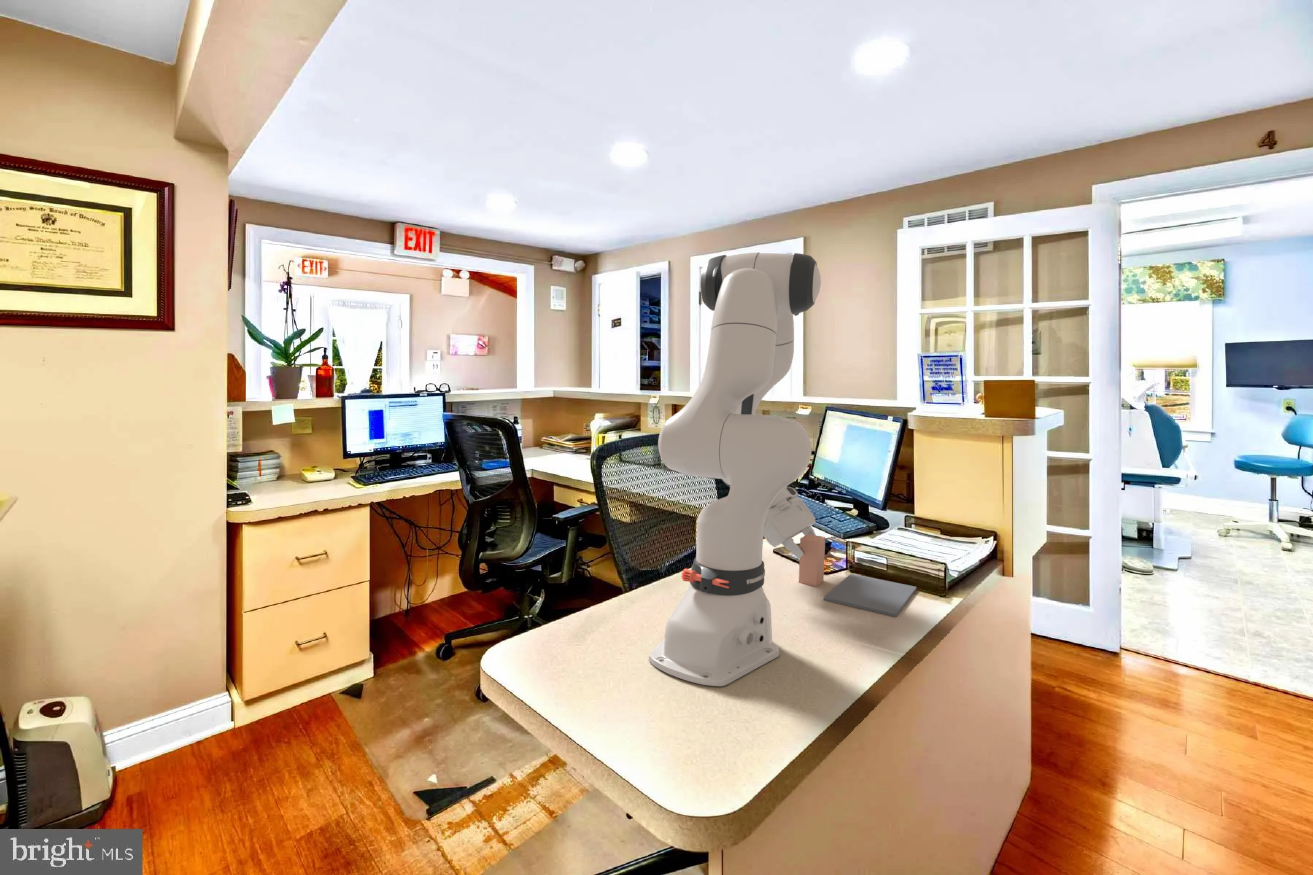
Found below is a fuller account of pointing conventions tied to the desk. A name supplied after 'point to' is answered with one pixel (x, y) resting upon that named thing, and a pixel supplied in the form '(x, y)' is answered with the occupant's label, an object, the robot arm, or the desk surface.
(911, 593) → the mat
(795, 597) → the desk surface
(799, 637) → the desk surface
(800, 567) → the block
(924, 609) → the desk surface
